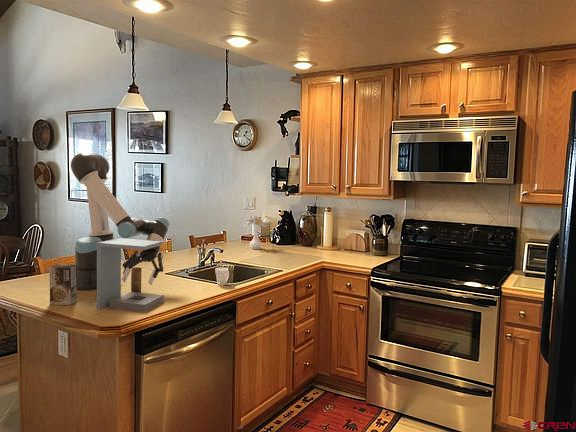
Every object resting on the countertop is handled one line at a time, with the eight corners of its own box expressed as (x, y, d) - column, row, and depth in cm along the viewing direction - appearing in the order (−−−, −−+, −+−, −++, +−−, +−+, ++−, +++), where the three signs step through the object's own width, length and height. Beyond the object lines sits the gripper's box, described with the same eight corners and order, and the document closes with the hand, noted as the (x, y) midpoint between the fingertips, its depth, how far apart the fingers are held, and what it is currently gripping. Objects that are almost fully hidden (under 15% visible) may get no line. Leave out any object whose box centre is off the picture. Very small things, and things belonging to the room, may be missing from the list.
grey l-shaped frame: (96, 308, 194) (97, 242, 192) (117, 299, 209) (118, 238, 206) (143, 314, 190) (144, 246, 187) (161, 304, 204) (162, 241, 202)
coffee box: (77, 301, 204) (77, 264, 203) (71, 305, 198) (71, 267, 197) (56, 300, 204) (55, 263, 203) (49, 304, 198) (48, 266, 196)
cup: (211, 284, 244) (212, 269, 243) (222, 280, 253) (223, 266, 252) (223, 286, 241) (223, 270, 240) (233, 282, 250) (234, 267, 249)
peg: (129, 294, 218) (129, 268, 217) (134, 292, 223) (134, 267, 222) (138, 295, 217) (138, 269, 216) (143, 293, 222) (143, 267, 221)
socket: (109, 307, 196) (109, 300, 196) (130, 298, 212) (130, 291, 212) (144, 311, 193) (144, 304, 193) (163, 301, 208) (163, 295, 208)
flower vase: (269, 248, 367) (270, 216, 365) (255, 250, 352) (256, 217, 350) (256, 246, 374) (257, 214, 372) (241, 248, 359) (242, 216, 357)
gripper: (178, 251, 232) (164, 288, 219) (132, 247, 237) (115, 284, 224) (174, 242, 226) (158, 279, 213) (126, 238, 231) (109, 275, 218)
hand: (136, 282), depth 218 cm, fingers open, 13 cm apart
